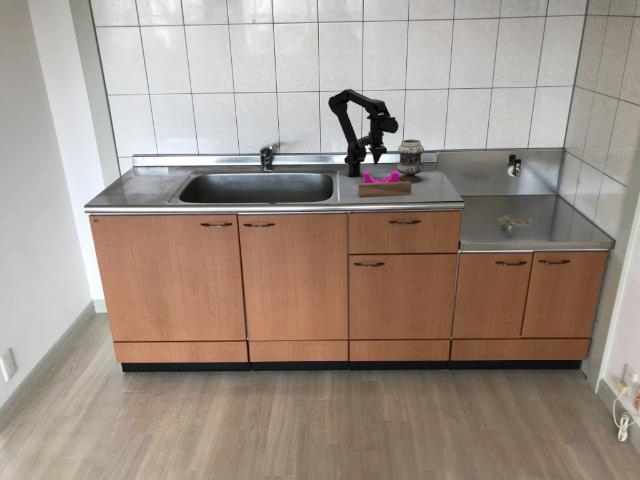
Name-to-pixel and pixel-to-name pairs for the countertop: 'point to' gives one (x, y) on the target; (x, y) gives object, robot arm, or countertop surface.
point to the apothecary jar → (410, 159)
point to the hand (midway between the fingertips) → (375, 164)
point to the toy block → (392, 178)
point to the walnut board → (384, 189)
